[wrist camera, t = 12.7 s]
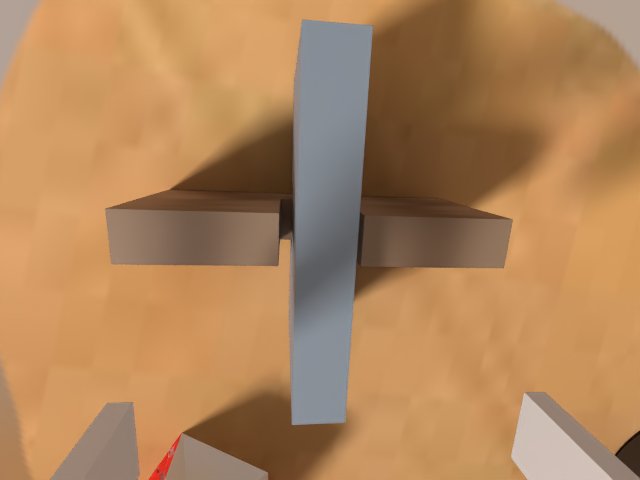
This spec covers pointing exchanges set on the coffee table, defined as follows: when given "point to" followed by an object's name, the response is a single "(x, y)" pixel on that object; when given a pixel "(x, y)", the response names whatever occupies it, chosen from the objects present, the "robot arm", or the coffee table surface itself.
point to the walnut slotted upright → (276, 223)
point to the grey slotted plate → (326, 213)
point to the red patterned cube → (203, 464)
